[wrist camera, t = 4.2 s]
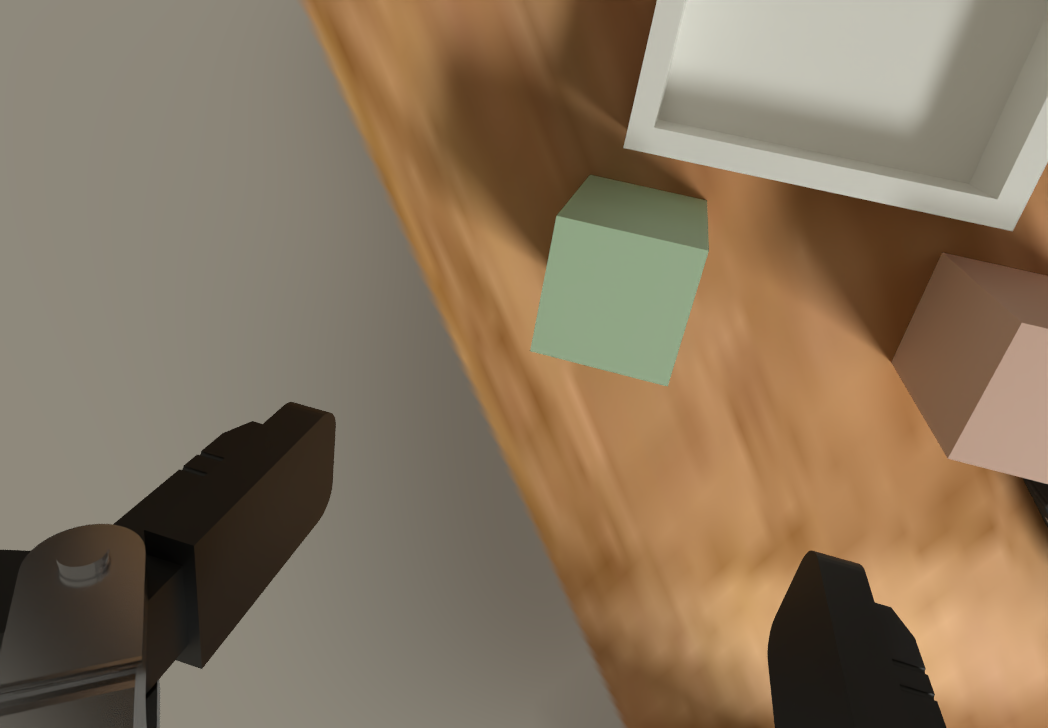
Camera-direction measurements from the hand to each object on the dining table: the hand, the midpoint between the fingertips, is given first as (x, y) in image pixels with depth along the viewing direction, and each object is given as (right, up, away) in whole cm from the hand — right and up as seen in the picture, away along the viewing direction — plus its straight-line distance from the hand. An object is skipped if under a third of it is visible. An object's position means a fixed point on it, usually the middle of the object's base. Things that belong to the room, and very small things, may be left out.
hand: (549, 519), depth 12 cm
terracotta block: (+16, +4, +14) cm, 22 cm away
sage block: (+4, +7, +16) cm, 18 cm away
